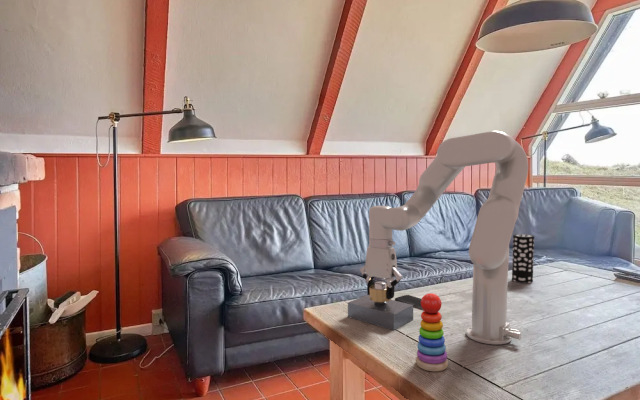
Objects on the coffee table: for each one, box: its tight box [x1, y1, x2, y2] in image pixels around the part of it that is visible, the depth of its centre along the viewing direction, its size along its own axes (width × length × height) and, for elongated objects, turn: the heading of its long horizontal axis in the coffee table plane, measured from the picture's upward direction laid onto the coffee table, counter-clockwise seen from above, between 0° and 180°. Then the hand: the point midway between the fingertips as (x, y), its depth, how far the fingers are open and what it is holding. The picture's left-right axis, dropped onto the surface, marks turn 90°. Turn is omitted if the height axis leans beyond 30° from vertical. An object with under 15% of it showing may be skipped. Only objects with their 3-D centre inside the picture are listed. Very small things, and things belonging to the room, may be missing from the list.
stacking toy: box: [415, 292, 449, 372], centre depth 110 cm, size 8×8×19 cm
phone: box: [394, 294, 424, 311], centre depth 160 cm, size 8×1×15 cm
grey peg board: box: [347, 281, 414, 331], centre depth 144 cm, size 18×12×12 cm, turn 48°
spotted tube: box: [511, 233, 535, 284], centre depth 189 cm, size 8×8×20 cm
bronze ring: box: [370, 284, 392, 302], centre depth 144 cm, size 7×7×4 cm
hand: (380, 295), depth 144 cm, fingers closed on bronze ring, 7 cm apart
